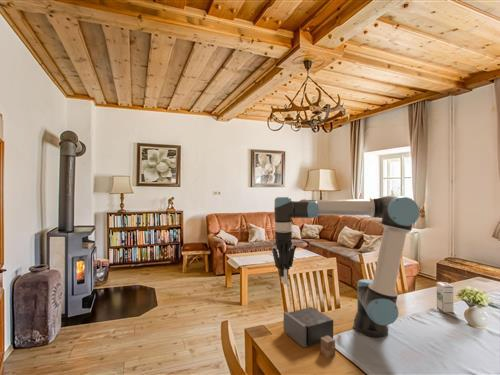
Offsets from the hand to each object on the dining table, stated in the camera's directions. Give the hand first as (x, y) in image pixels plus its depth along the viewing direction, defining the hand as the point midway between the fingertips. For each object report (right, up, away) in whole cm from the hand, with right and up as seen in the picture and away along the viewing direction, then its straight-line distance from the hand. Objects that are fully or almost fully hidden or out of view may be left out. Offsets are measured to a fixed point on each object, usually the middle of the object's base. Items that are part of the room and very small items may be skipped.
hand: (284, 283), depth 126 cm
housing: (+12, -24, +2) cm, 27 cm away
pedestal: (+16, -24, -13) cm, 32 cm away
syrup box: (+92, -25, +28) cm, 99 cm away
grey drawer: (+10, -24, +1) cm, 26 cm away
